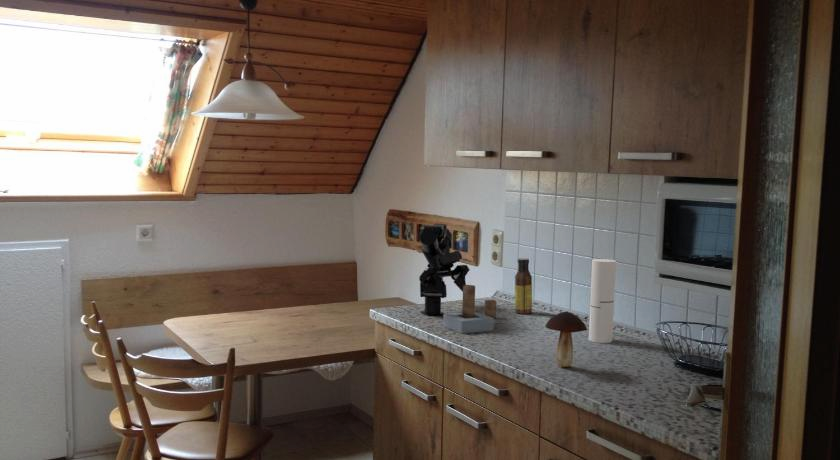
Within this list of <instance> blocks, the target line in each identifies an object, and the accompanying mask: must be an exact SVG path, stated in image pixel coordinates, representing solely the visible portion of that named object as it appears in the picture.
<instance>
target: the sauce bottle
mask: <svg viewBox="0 0 840 460" xmlns="http://www.w3.org/2000/svg"><path fill="white" fill-rule="evenodd" d="M517 263H518V265H517V266H518V267H517V272H516V273H515V276H514V282H515V283H514V310H515V313H517V314H521V315H522V314H523V315H529V314H532V311H533V309H532V308H533V283H532V281H533V277H532V274H531V272H530V270H529V269H530V268H529V263H530V259H529V258H524V257H520V258H519V257H518V258H517Z"/></svg>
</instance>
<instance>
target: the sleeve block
mask: <svg viewBox="0 0 840 460" xmlns="http://www.w3.org/2000/svg"><path fill="white" fill-rule="evenodd" d="M442 319H443V321H442V322H443V323H442V327H445V328H447V329H449V330H452V331H454V332H457V333H459V334H469V333H479V332H482V333H483V332H489V331H490V332H491V331H494V325H495V322H494V321H495V320H494V318H491V317H489V316H486V315H484V313H480V312H477V311H475V314H474V318H466V319H465V318H462V312H453V313H452V312H451V313H450V312H449V313H444V314H443V316H442Z"/></svg>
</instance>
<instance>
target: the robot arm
mask: <svg viewBox="0 0 840 460" xmlns="http://www.w3.org/2000/svg"><path fill="white" fill-rule="evenodd" d="M447 225H448V224H445V223H434V224H433V225H424V226H423V228H422V229H421V232H420V235H419V242H420V246H421V252H422V255H423V256H424V257H425V260H426V262H427V263H428V264H427V265H426V266H427V267H426V268H425V269H424V270H423V272H422V273H421V274H420V275H419V278H418V279H419V280H418V281H419V282H420V283H419V292H420V293H419V294H420V298H424V310H421V311H420V313H422V314H423V315H426V316H442V315H443V314H445V312H443V311H441V310H442V299H444V298H447V294H448V293H447V291H448V290H447V284H446V283H445V282H446V281H444V278H447V277H450V278H451V279H452V280H453V283H454V284H455V285H456V287H458V289H459V290H460V291H461V292H462V293H463V285H467V284H466V276H467V274H468V273H469V272H470V268H469V266H468V265H467V264H460V265H459V264H458V265H456V266H455V264H456V263H459V262H460V260H462V259H463V256H462V255H463V254H462V253H461V252H460V250H454V251H451V250H452V249H453V243H454V241H453V233H452V232H451V231H450V230H449V229H448V226H447ZM454 266H455V267H454ZM453 267H454V269H452V268H453Z"/></svg>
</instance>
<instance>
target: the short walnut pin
mask: <svg viewBox="0 0 840 460" xmlns="http://www.w3.org/2000/svg"><path fill="white" fill-rule="evenodd" d="M483 315H486V316H489V317H491V318H494V319H496V318H497V317H496V316H497V300H496V299H485V300H484V313H483Z"/></svg>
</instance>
